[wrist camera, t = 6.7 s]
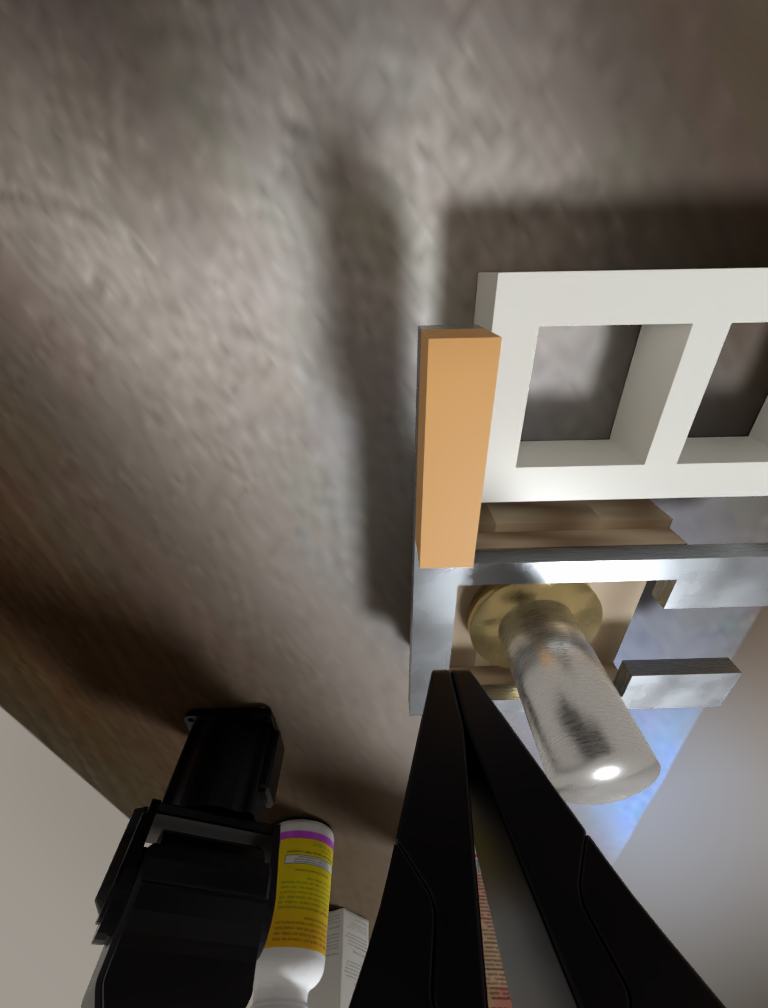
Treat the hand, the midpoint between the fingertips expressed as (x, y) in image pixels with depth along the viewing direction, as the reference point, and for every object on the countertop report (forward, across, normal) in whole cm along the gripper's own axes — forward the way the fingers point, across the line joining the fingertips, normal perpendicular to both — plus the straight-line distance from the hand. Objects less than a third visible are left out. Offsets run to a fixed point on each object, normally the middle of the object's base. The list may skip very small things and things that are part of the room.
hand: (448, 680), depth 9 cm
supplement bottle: (+13, +11, +42) cm, 45 cm away
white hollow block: (+13, -11, -3) cm, 17 cm away
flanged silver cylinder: (+13, -7, +9) cm, 17 cm away
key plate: (+9, -9, +4) cm, 13 cm away
